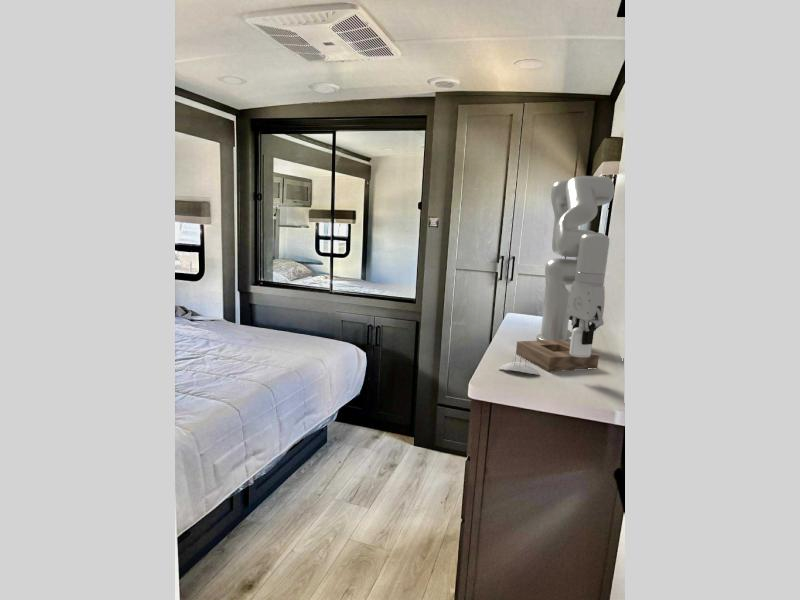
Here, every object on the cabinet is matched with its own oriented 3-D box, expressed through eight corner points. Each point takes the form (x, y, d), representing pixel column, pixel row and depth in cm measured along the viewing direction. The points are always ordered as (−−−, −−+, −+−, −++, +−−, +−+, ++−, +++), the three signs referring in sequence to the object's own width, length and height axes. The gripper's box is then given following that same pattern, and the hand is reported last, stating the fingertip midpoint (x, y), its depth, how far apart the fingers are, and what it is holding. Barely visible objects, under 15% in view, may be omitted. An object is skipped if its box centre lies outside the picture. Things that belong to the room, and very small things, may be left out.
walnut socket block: (560, 352, 157) (562, 339, 156) (597, 368, 140) (599, 354, 139) (515, 354, 151) (517, 341, 150) (548, 371, 134) (549, 357, 133)
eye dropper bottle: (588, 359, 126) (594, 318, 123) (568, 355, 128) (573, 315, 126) (591, 355, 129) (596, 315, 127) (570, 351, 132) (575, 312, 130)
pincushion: (497, 373, 132) (498, 354, 131) (499, 367, 137) (500, 349, 136) (539, 379, 128) (541, 360, 127) (539, 373, 134) (541, 354, 133)
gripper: (559, 274, 131) (552, 334, 135) (599, 284, 115) (590, 351, 119) (580, 274, 133) (573, 333, 137) (623, 283, 118) (613, 350, 121)
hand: (581, 341), depth 128 cm, fingers closed on eye dropper bottle, 3 cm apart
